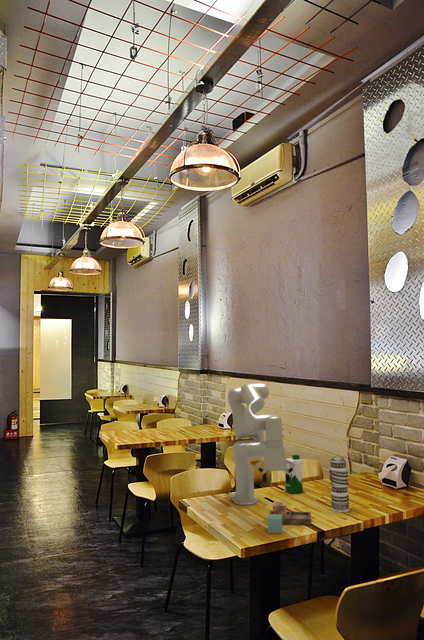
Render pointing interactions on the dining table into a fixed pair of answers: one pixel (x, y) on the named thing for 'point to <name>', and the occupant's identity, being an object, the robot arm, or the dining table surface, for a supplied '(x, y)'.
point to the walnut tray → (291, 515)
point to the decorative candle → (339, 484)
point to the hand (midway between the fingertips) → (276, 482)
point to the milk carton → (295, 476)
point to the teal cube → (275, 523)
